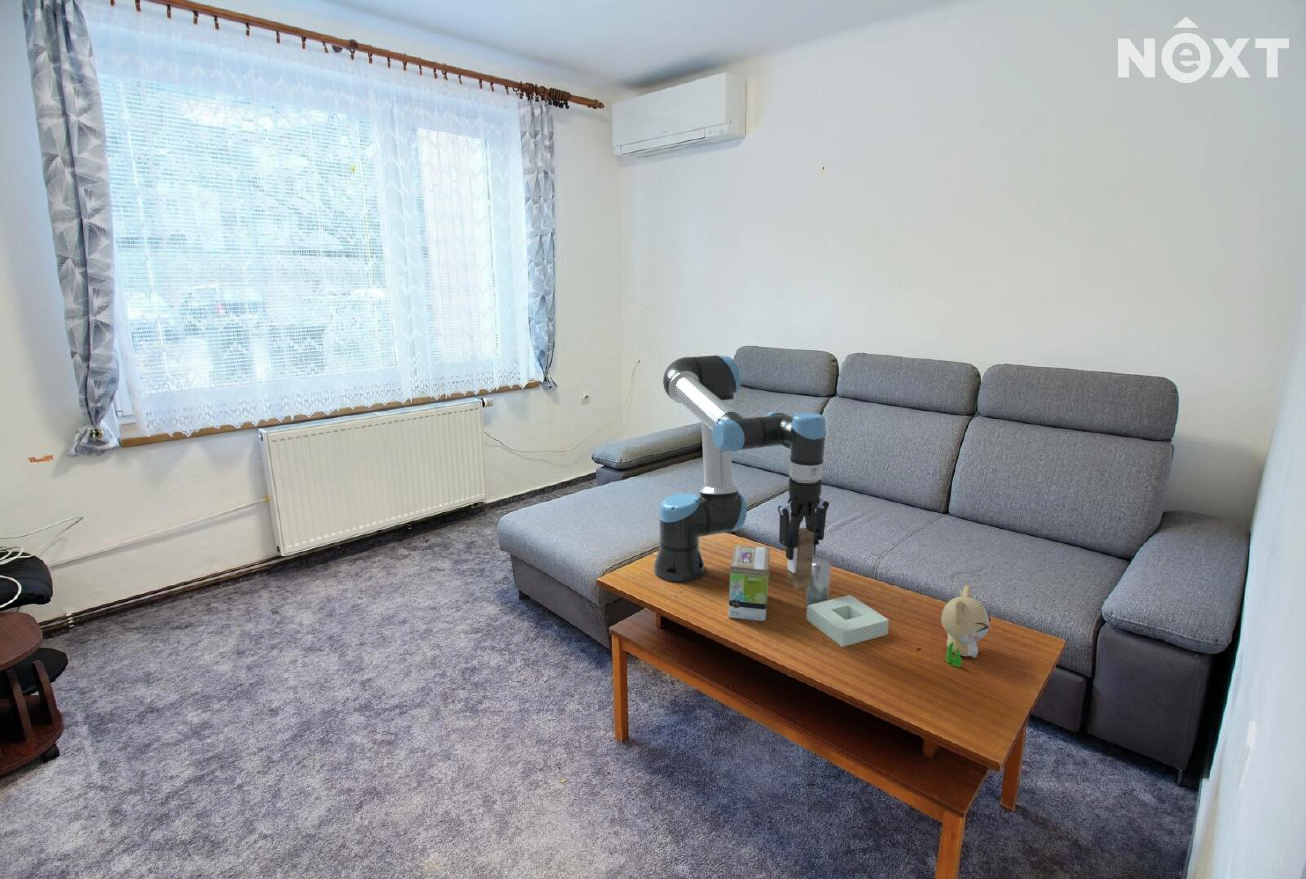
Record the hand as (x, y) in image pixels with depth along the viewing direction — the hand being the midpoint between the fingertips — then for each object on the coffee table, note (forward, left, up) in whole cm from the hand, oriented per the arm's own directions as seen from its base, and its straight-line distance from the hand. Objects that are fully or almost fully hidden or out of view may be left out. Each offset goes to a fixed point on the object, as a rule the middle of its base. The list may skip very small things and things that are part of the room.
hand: (799, 568), depth 152 cm
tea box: (-15, -5, -17) cm, 23 cm away
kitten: (+24, +29, -17) cm, 41 cm away
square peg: (0, 0, -4) cm, 4 cm away
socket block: (+4, +12, -16) cm, 21 cm away
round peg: (-9, +13, -16) cm, 23 cm away
